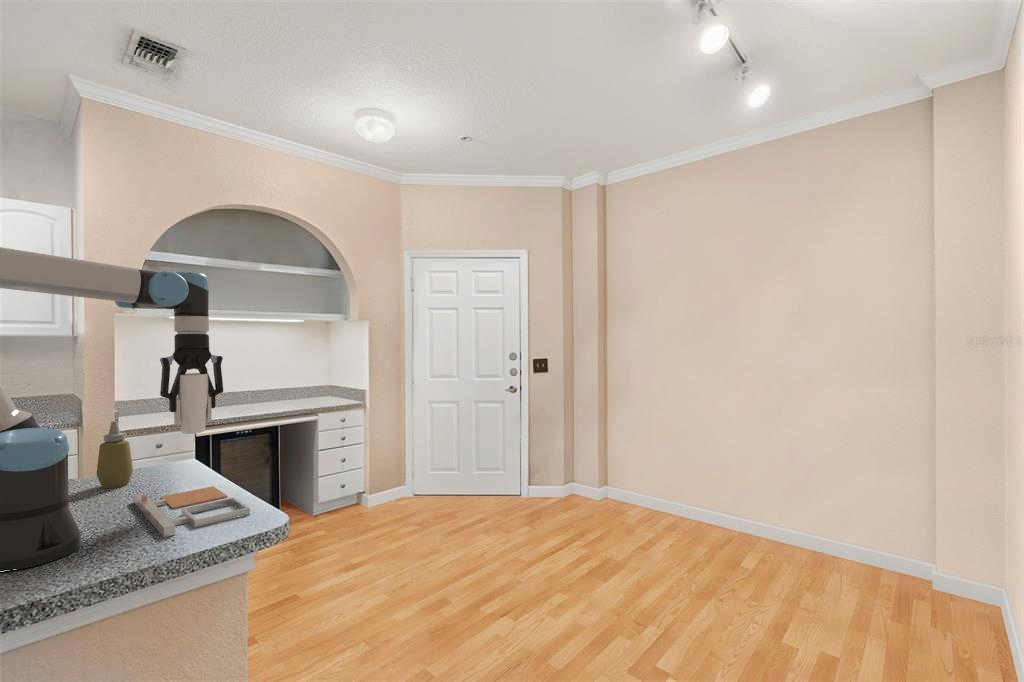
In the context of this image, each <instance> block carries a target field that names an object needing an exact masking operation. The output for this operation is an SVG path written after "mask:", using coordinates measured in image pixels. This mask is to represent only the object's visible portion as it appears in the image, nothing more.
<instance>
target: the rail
mask: <svg viewBox="0 0 1024 682" xmlns="http://www.w3.org/2000/svg"><path fill="white" fill-rule="evenodd" d="M225 497H226V498H225ZM220 498H222V499H220ZM215 499H217V500H215ZM211 500H212V501H211ZM206 501H208V502H206ZM133 503H134V505H136V507H137V508H138V509H139V510H140V512H141V513H143V516H145V517H146V518H147V520H148V521H149V522H150V523H151V524H152V526H154V527H155V529H156V530H157V531H158V532H159V533H160V535H161V536H162V537H164V538H168V537H171V536H175V535H176V526H180V525H184V524H188V523H189V524H190V525H191V526H192V527H194V529H195V528H199V527H203V526H208V525H211V524H217V523H220V522H223V521H227V519H229V520H231V519H230V518H233V519H235V518H234V517H237V516H241V517H243V516H242V515H245V516H247V515H248V514H249V515H251V507H250V506H248V505H246V504H245V503H244V502H242V501H241V500H239V499H238V498H236V497H229V498H228V495H227V494H225V493H224V492H223V491H221V490H220V489H219V488H217V487H215V486H208V487H202V488H197V489H193V490H192V489H191V490H187V491H182V492H177V493H173V494H172V493H171V494H167V495H162V496H160V499H156V500H151V499H150V497H148V495H147V494H145V493H144V492H140V493H134V494H133ZM230 504H233V505H232V506H234V507H235V506H236V507H235V508H237V510H231V511H227V512H223V513H218V514H215V515H210V516H206V517H201V518H196V517H195V516H194V515H193V514H196V513H201V512H204V511H209V509H210V510H213V508H214V509H217V508H218V507H219V508H222V507H221V506H223V507H226V506H225V505H227V506H231V505H230ZM166 505H168V507H170V508H171V510H174V509H179V508H181V516H178V517H175V518H171V519H170V518H169V517H168V516H167V515H166V514H165V513H164V511H162V510H161V509H160V508H159V507H162V506H166ZM238 508H239V509H238ZM237 518H238V517H237Z"/></svg>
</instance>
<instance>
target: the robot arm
mask: <svg viewBox="0 0 1024 682" xmlns="http://www.w3.org/2000/svg"><path fill="white" fill-rule="evenodd" d="M0 289H4V290H5V289H6V290H12V291H22V292H31V293H32V292H33V293H40V294H41V293H42V294H50V295H57V296H58V295H60V296H67V297H76V298H83V299H84V298H86V299H94V300H105V301H111V302H112V301H113V302H114V304H115V305H116V306H117V307H119V308H122V309H132V310H135V309H142V310H143V309H147V310H173V312H174V313H173V317H174V320H173V321H174V324H173V325H174V329H173V331H174V332H176V333H175V335H174V336H173V337H174V351H173V353H172V355H170V356H167V357H164V356H163V357H161V358H159V361H160V364H161V367H162V368H161V379H160V392H159V393H160V394H159V396H160V397H161V398H165V399H168V402H169V403H168V404H169V405H168V406H169V407H168V408H169V410H168V411H170V413H173V417H174V418H173V422H174V425H175V426H177V427H178V426H181V421H180V399H178V392H179V390H180V375H185V374H187V371H188V370H189V371H190V370H198V373H200V374H208V399H207V410H206V423H207V422H208V423H211V422H212V409H215V408H216V396H217V395H220V394H223V393H224V384H223V383H224V382H223V381H224V380H223V374H222V363H223V359H224V358H223V356H222V355H214V354H212V353H211V351H210V335H209V334H208V332H210V322H209V321H210V318H209V317H210V315H209V304H210V303H209V300H210V299H209V298H210V296H209V295H210V289H209V280H208V276H207V275H205V273H202V272H193V271H191V272H188V271H179V272H173V271H166V270H165V271H164V270H163V271H153V270H147V269H146V270H145V269H138V268H133V267H127V266H123V265H122V266H121V265H116V264H108V263H102V262H97V261H90V260H89V261H88V260H85V259H83V260H82V259H77V258H71V257H64V256H58V255H51V254H46V253H39V252H33V251H28V250H20V249H14V248H8V247H2V246H1V247H0ZM210 360H211V361H210ZM173 361H174V362H175V363H176V364H177V365H178V368H177V373H176V375H175V377H174V380H173V384H172V387H171V389H170V377H171V376H170V375H171V366H172V364H173ZM209 361H210V362H211V363H212V364H213V365H212V367H213V368H212V369H213V376H214V377H213V379H214V385H213V383H212V380H211V378H210V374H209V372H208V368H207V365H206V364H207V363H208V362H209ZM169 390H170V392H169ZM69 450H70V445H69V443H68V437H67V434H66V433H65V432H64V431H62V430H59V429H57V428H47V427H41V426H40V425H39V424H38V422H37V420H36V419H35V417H34V415H33V414H32V413H31V412H29V411H23V410H20V409H18V408H17V406H16V405H15V403H14V402H13V400H12V399H11V397H10V395H9V394H8V392H7V390H6V389H5V388H4V386H3V384H2V383H1V382H0V571H4V570H13V569H21V570H24V569H23V568H25V569H29V568H28V567H30V568H33V567H32V566H34V567H37V566H36V565H38V566H40V564H41V565H44V563H45V564H48V563H50V561H51V562H53V560H54V561H56V560H59V559H61V557H62V558H64V557H66V556H68V555H70V554H73V552H75V551H77V550H78V549H80V547H81V546H82V534H81V531H80V529H79V526H78V524H77V522H76V520H75V518H74V516H73V514H72V512H71V509H70V506H69V502H70V501H69V498H70V497H69V496H70V495H69ZM55 559H56V560H55ZM47 562H48V563H47Z"/></svg>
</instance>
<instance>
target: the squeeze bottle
mask: <svg viewBox="0 0 1024 682" xmlns="http://www.w3.org/2000/svg"><path fill="white" fill-rule="evenodd" d="M125 439H126V434H125V432H121V430H120V428H119V424H118V421H117V420H113V421H111V423H110V426H109V431H108V434H104V435H103V441H104V442H102V443H101V444H100V445H99V450H98V456H97V458H98V459H97V464H96V465H97V466H96V475H95V476H96V477H97V480H98V481H99V484H100V486H101V487H102V488H105V489H115V488H119V487H123V486H126V485H128V484H129V482H130V480H131V477H132V474H133V472H134V467H133V460H132V459H133V458H132V453H131V446H130V442H129V441H128V440H125Z"/></svg>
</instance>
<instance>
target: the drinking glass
mask: <svg viewBox="0 0 1024 682" xmlns="http://www.w3.org/2000/svg"><path fill="white" fill-rule="evenodd" d="M208 374H209V373H208ZM208 374H200V372H189V373H185V375H180V390H179V392H178V395H177V398H178V399H180V421H181V425H180V432H181V433H182V434H186V435H187V434H188V435H189V434H190V435H191V434H192V435H193V434H199V433H203V432H205V431H206V423H207V421H206V410H207V399H208V396H209V395H208Z"/></svg>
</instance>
